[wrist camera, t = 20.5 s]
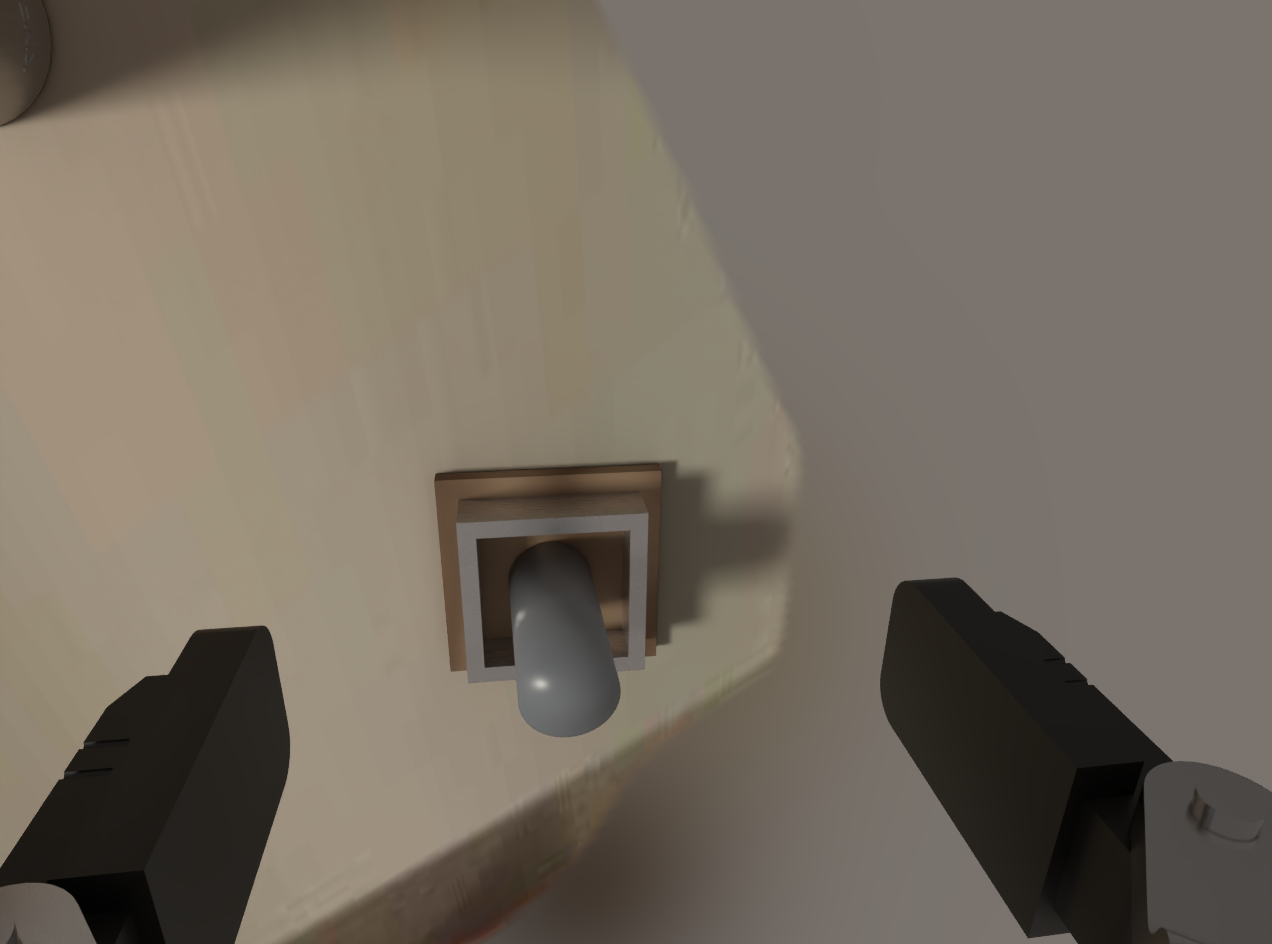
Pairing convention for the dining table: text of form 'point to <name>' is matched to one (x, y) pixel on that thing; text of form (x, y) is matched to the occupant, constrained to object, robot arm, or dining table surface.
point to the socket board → (503, 551)
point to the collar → (549, 518)
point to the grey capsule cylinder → (560, 643)
